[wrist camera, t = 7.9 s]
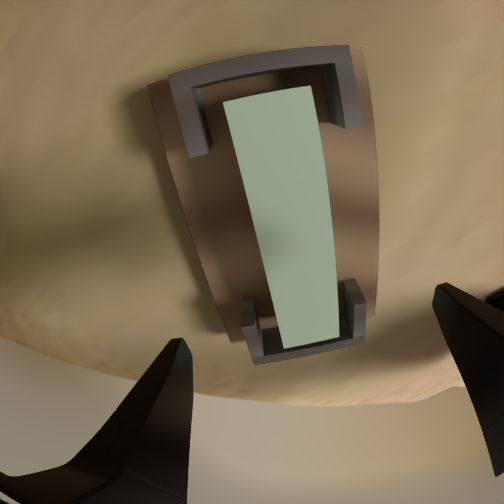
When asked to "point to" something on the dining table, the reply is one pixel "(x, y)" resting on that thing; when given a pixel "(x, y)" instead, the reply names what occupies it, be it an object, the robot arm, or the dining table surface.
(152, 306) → the dining table surface
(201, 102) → the frame
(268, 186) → the slat
